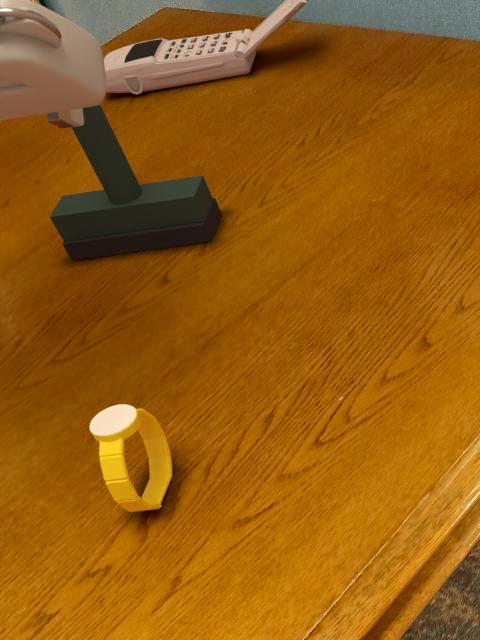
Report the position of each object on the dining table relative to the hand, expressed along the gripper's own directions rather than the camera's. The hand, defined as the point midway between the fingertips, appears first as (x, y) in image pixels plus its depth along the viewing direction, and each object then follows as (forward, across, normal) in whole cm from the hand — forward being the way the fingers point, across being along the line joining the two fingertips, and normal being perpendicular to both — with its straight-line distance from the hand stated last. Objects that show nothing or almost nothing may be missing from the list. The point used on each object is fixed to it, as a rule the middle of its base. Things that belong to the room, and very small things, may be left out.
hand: (4, 125), depth 64 cm
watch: (-4, -9, +25) cm, 26 cm away
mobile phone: (+39, +2, -18) cm, 43 cm away
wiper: (+18, 0, +3) cm, 18 cm away
